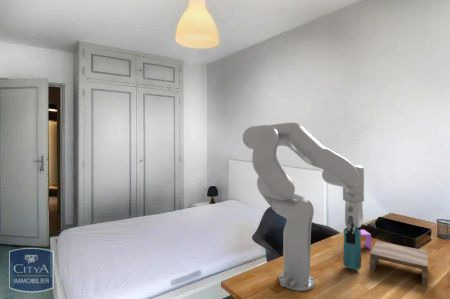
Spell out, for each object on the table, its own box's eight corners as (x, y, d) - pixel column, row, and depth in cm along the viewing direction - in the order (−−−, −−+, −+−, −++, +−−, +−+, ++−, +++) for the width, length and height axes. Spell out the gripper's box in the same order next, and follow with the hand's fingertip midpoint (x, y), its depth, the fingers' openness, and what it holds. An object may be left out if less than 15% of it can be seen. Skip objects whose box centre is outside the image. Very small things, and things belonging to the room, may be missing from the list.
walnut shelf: (427, 285, 94) (427, 266, 94) (369, 270, 105) (370, 253, 105) (427, 268, 107) (427, 251, 107) (376, 256, 118) (376, 240, 118)
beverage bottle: (363, 274, 103) (364, 222, 102) (344, 272, 104) (345, 221, 103) (358, 266, 109) (359, 217, 108) (340, 264, 110) (341, 216, 109)
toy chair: (373, 250, 124) (373, 218, 123) (354, 250, 124) (354, 218, 124) (364, 243, 132) (365, 213, 132) (346, 243, 133) (347, 213, 132)
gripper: (359, 202, 96) (359, 249, 97) (367, 193, 110) (367, 234, 111) (337, 199, 101) (337, 244, 101) (348, 191, 114) (348, 230, 115)
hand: (353, 239), depth 106 cm, fingers open, 9 cm apart
